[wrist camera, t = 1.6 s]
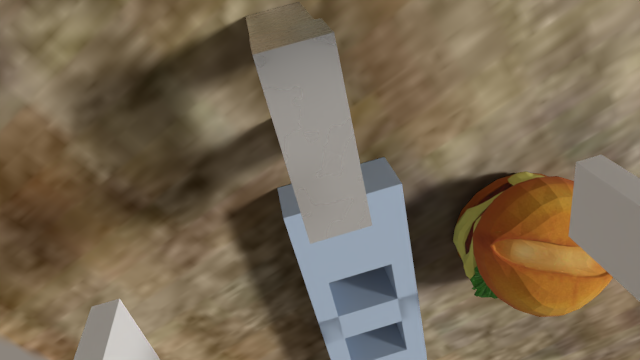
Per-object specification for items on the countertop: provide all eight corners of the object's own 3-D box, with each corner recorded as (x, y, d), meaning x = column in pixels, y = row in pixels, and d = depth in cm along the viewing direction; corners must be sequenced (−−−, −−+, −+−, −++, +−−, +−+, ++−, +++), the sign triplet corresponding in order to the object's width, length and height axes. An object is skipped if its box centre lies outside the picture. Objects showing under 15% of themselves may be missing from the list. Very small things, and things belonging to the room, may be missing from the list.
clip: (242, 6, 24) (252, 54, 16) (296, -8, 24) (334, 32, 16) (285, 151, 29) (310, 244, 21) (330, 138, 29) (372, 225, 21)
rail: (277, 187, 30) (283, 218, 27) (384, 157, 30) (401, 183, 27) (340, 378, 42) (348, 414, 39) (416, 354, 42) (431, 388, 39)
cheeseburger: (462, 290, 38) (519, 375, 29) (417, 186, 35) (464, 243, 26) (574, 241, 38) (669, 311, 28) (538, 129, 34) (632, 166, 25)
